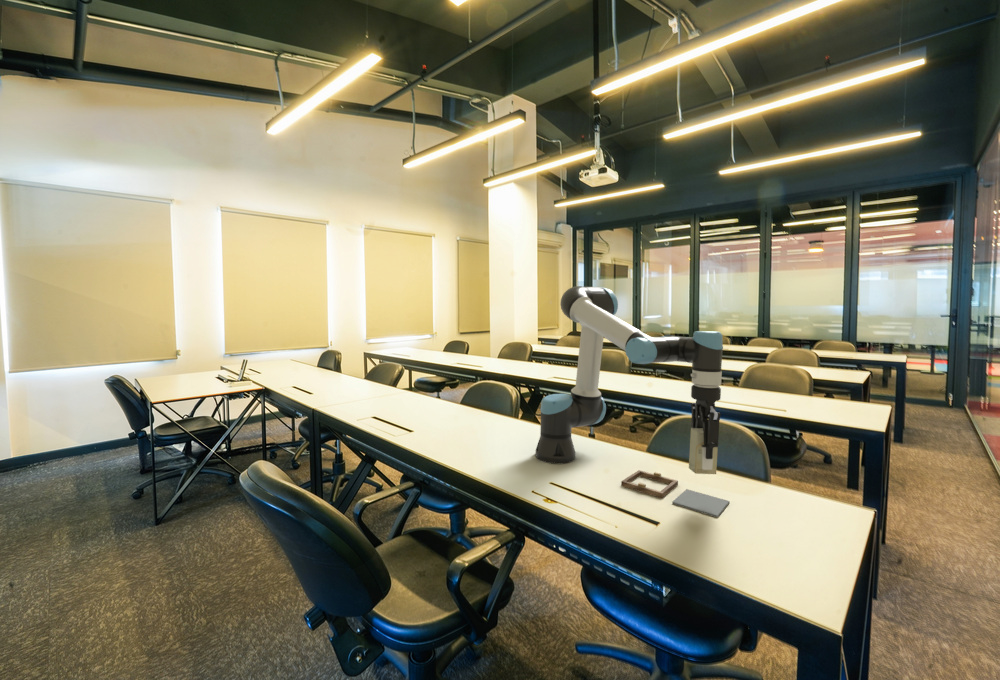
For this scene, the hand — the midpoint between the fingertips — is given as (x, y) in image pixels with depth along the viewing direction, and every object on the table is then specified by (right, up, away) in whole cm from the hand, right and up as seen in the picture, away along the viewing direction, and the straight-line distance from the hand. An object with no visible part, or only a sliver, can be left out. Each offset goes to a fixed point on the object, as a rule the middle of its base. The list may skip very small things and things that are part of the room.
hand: (702, 465), depth 120 cm
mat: (0, -11, +1) cm, 11 cm away
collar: (-11, -10, +13) cm, 20 cm away
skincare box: (0, -2, 0) cm, 2 cm away
